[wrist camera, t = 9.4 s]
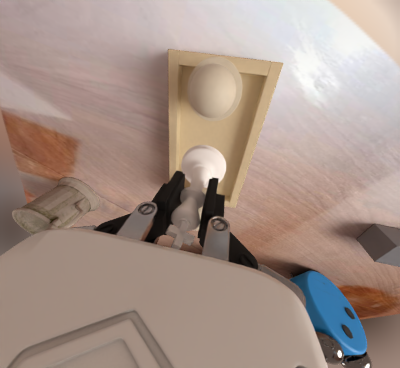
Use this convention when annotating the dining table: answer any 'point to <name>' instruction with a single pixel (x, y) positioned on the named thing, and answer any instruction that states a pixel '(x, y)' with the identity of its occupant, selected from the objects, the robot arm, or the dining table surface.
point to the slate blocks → (382, 244)
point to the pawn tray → (223, 130)
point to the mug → (57, 207)
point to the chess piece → (194, 191)
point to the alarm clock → (333, 321)
